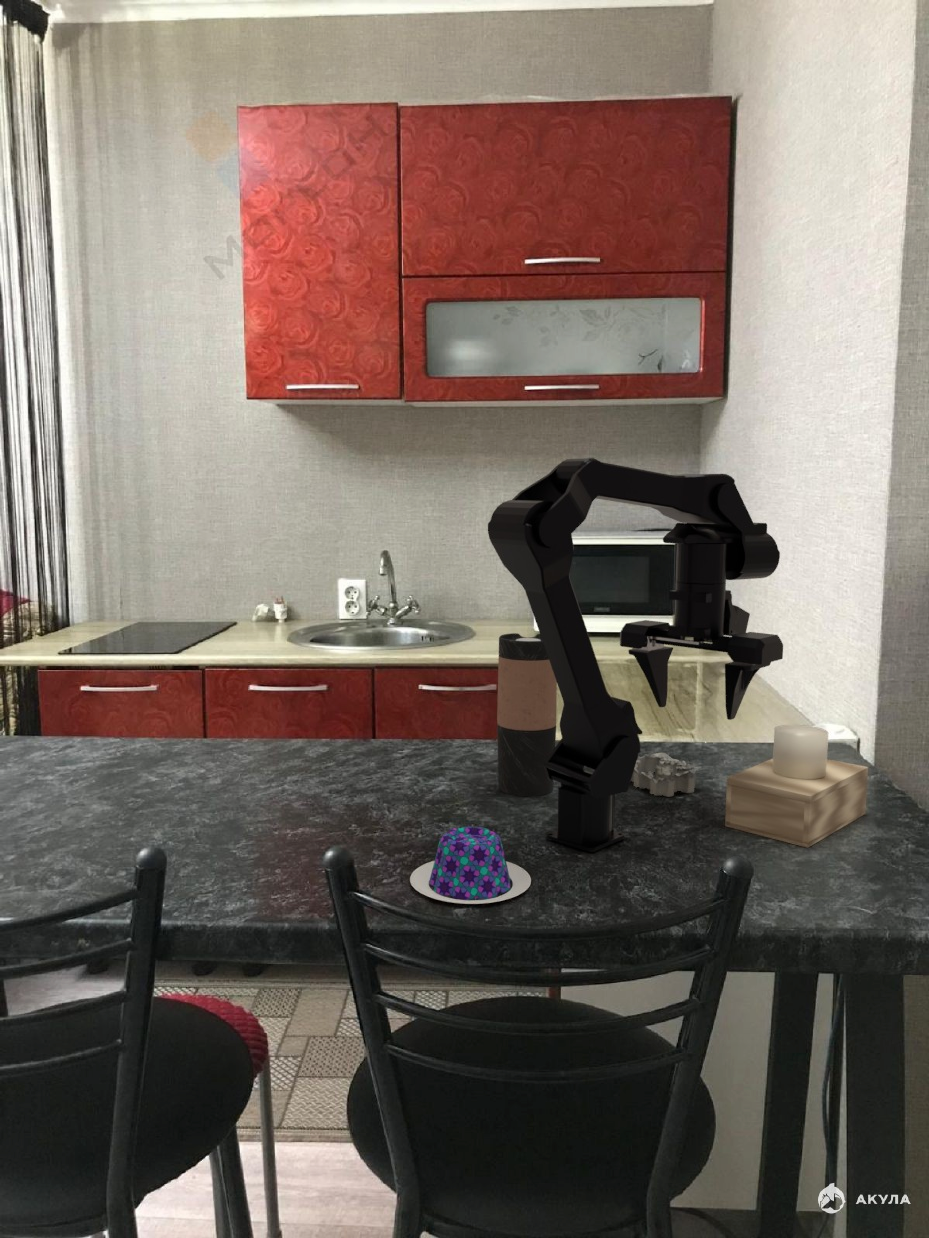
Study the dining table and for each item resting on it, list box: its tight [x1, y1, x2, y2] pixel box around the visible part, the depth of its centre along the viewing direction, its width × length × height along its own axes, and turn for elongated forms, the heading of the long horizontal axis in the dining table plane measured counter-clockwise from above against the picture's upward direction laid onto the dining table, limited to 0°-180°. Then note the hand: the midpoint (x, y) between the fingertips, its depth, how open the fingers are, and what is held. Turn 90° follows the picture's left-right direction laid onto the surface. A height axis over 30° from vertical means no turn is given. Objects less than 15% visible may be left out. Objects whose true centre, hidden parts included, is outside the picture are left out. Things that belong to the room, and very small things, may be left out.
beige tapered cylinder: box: [772, 724, 829, 779], centre depth 116 cm, size 6×6×5 cm
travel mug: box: [496, 632, 558, 797], centre depth 128 cm, size 8×8×20 cm
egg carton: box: [631, 752, 702, 798], centre depth 131 cm, size 11×8×4 cm
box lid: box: [726, 758, 869, 803], centre depth 117 cm, size 16×10×1 cm, turn 137°
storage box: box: [724, 773, 869, 849], centre depth 117 cm, size 16×10×5 cm, turn 137°
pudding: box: [409, 826, 532, 905], centre depth 98 cm, size 12×12×5 cm
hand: (695, 712), depth 118 cm, fingers open, 9 cm apart
